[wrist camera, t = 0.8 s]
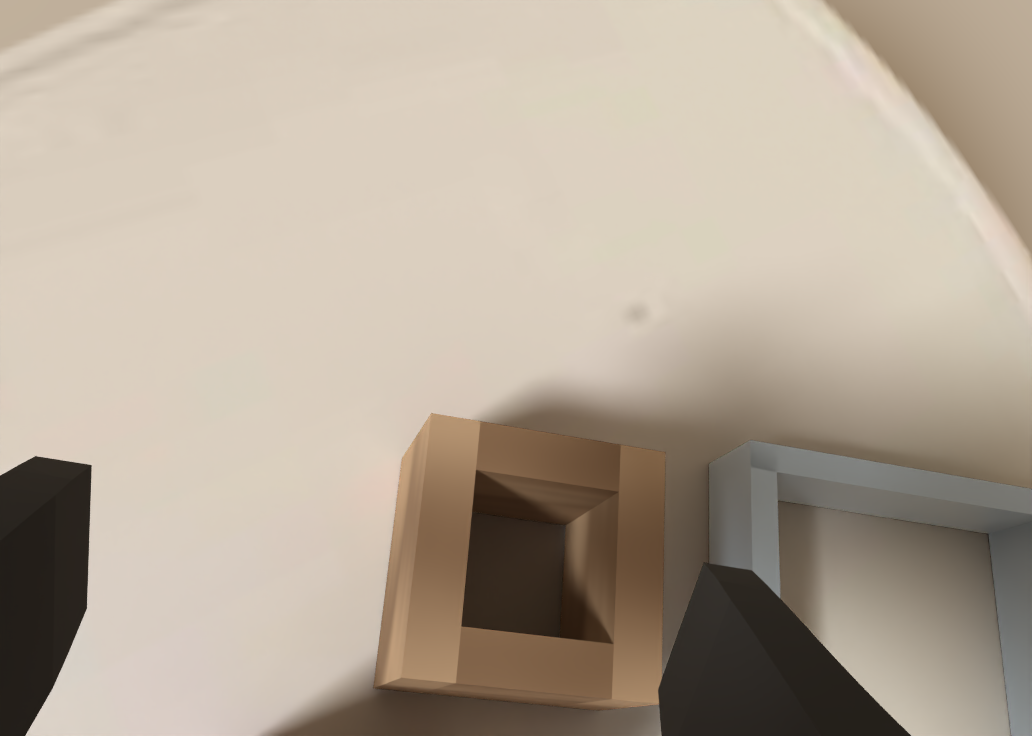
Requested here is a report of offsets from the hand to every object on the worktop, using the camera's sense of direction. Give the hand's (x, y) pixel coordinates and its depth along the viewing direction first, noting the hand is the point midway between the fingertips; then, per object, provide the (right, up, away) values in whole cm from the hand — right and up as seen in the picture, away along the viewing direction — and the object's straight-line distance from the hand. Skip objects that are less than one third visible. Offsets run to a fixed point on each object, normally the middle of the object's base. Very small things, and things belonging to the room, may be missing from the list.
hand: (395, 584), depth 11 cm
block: (+1, -3, +15) cm, 15 cm away
